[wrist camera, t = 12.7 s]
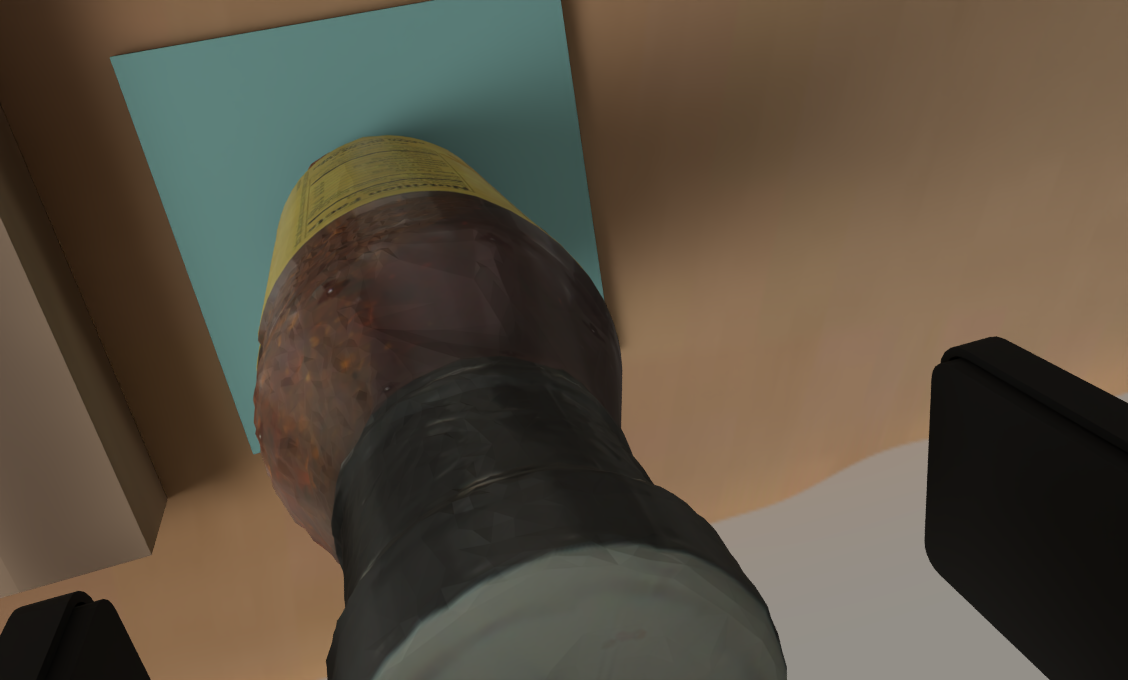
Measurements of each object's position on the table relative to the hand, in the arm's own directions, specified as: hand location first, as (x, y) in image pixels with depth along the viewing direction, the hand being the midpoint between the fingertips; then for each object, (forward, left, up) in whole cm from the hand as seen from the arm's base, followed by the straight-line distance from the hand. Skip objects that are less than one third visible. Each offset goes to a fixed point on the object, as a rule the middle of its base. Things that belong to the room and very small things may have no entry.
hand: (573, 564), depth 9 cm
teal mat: (0, 0, -18) cm, 18 cm away
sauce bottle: (+1, 0, -18) cm, 18 cm away
